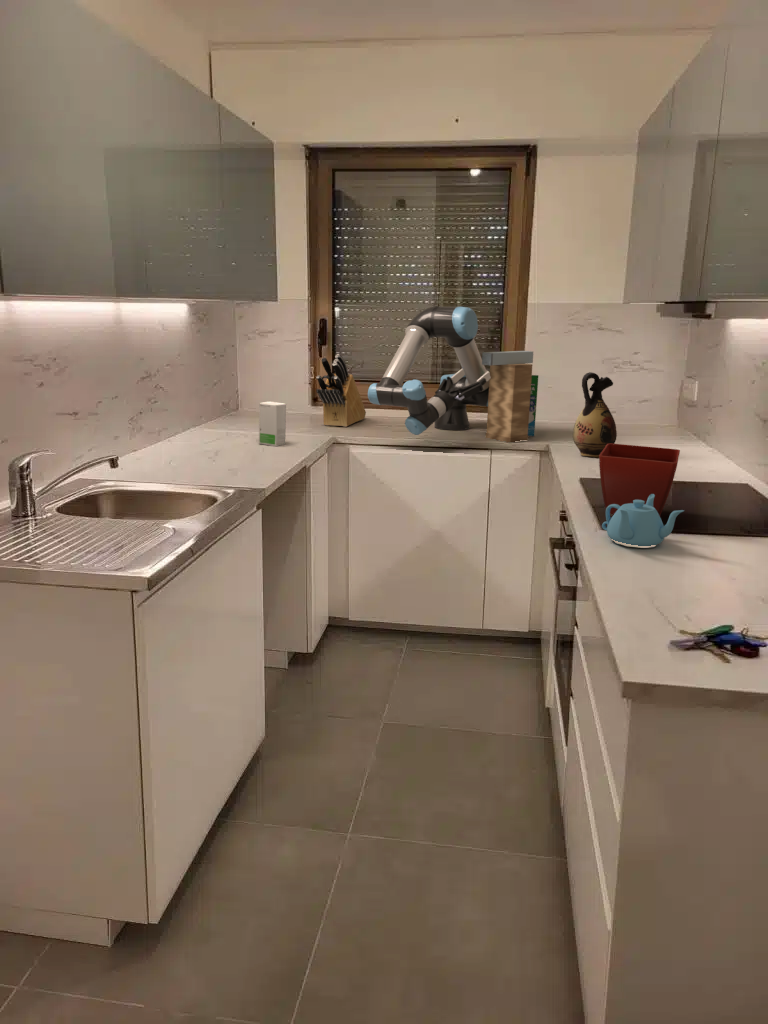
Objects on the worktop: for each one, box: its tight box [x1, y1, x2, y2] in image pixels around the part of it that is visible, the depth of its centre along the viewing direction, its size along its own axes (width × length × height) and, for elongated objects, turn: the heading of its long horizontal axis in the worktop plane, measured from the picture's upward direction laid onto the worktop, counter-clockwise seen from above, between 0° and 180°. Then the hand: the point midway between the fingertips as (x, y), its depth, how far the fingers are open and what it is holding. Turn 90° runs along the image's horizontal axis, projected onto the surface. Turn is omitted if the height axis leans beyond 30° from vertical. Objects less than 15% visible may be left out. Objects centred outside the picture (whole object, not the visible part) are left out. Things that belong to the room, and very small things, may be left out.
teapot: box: [601, 494, 685, 546], centre depth 188 cm, size 15×15×10 cm
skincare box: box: [258, 400, 287, 447], centre depth 300 cm, size 8×7×16 cm
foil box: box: [481, 350, 534, 366], centre depth 312 cm, size 5×24×5 cm, turn 129°
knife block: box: [315, 353, 367, 428], centre depth 347 cm, size 11×35×31 cm, turn 162°
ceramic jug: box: [572, 371, 618, 458], centre depth 289 cm, size 17×15×30 cm
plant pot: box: [598, 443, 681, 517], centre depth 212 cm, size 19×19×17 cm
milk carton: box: [528, 374, 539, 437], centre depth 332 cm, size 9×9×25 cm
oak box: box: [485, 363, 533, 443], centre depth 318 cm, size 13×10×30 cm
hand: (476, 373), depth 303 cm, fingers open, 13 cm apart
